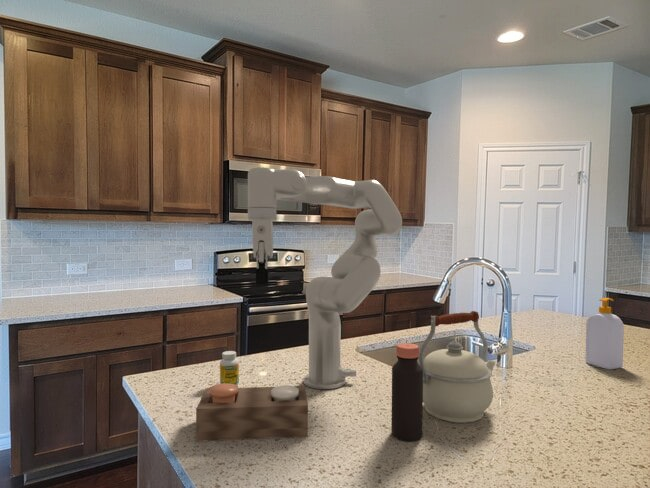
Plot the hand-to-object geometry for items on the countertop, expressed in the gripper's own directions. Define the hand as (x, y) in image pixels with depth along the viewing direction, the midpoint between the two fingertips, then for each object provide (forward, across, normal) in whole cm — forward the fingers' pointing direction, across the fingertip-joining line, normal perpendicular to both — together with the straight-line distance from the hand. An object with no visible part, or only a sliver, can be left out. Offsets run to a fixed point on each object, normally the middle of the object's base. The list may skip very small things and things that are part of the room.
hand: (262, 284), depth 116 cm
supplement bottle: (+31, +12, +10) cm, 35 cm away
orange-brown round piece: (+28, -16, +8) cm, 33 cm away
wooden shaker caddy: (+31, -16, +1) cm, 35 cm away
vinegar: (+31, -23, -33) cm, 51 cm away
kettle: (+31, -11, -50) cm, 60 cm away
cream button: (+29, -16, -6) cm, 33 cm away
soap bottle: (+31, +21, -115) cm, 121 cm away
